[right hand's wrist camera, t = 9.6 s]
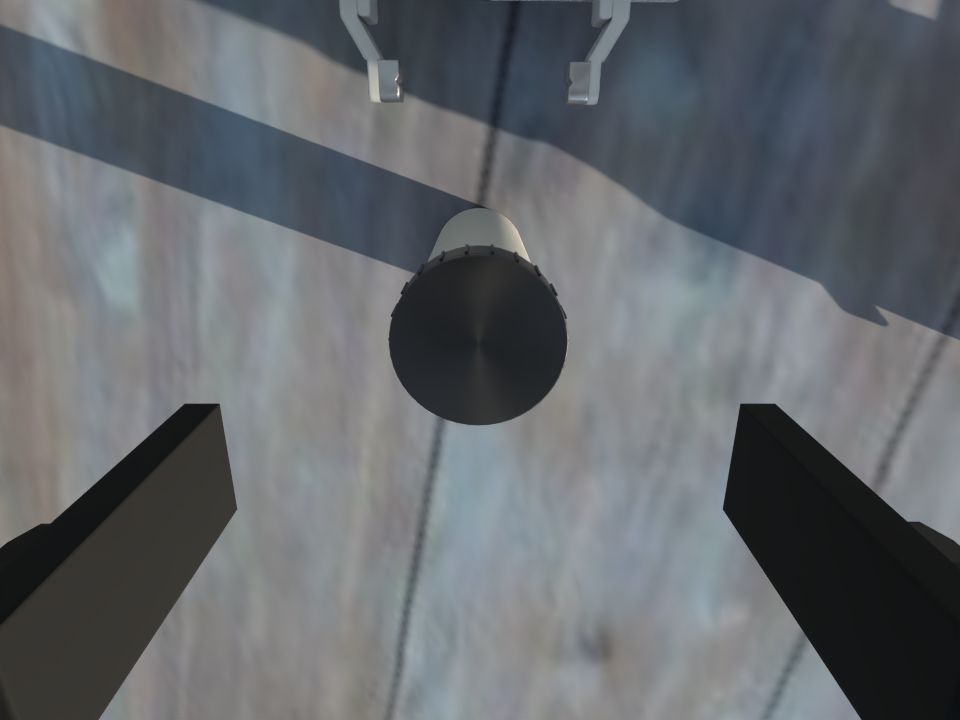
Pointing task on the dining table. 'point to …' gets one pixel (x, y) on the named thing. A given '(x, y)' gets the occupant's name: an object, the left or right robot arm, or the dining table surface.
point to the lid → (478, 335)
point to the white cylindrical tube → (479, 232)
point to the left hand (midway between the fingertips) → (483, 103)
